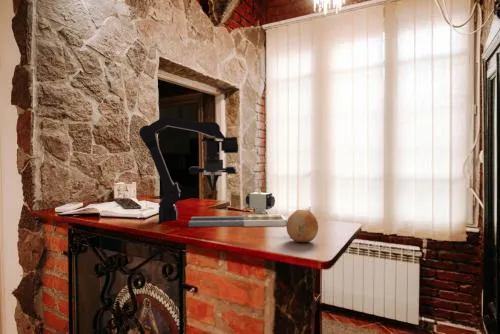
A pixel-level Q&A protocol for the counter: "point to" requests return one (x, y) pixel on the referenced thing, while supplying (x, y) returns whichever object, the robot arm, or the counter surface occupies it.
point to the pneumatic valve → (260, 201)
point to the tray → (265, 221)
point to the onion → (302, 226)
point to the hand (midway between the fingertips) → (212, 191)
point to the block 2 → (264, 217)
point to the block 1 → (253, 217)
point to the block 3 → (274, 217)
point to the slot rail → (216, 221)
